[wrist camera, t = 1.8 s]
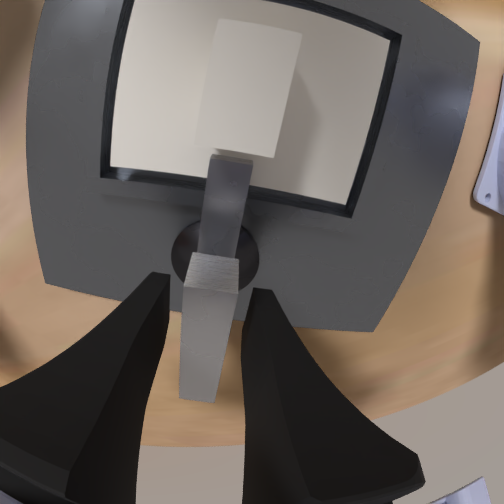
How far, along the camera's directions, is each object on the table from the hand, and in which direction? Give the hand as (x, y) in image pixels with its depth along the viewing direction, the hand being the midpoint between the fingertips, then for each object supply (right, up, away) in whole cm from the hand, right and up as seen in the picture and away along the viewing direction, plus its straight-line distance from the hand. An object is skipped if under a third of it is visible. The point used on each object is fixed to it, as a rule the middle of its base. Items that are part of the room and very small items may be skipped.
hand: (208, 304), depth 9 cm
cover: (+1, +7, -1) cm, 7 cm away
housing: (+1, +6, +1) cm, 6 cm away
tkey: (0, +2, +1) cm, 3 cm away
